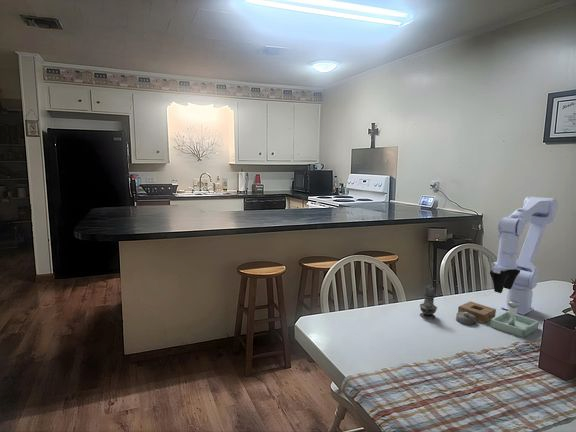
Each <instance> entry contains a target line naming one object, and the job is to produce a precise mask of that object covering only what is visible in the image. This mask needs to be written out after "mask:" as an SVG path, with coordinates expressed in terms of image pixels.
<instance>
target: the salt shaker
mask: <svg viewBox="0 0 576 432" xmlns="http://www.w3.org/2000/svg"><path fill="white" fill-rule="evenodd" d="M423 296H424V300H423V303H420V304H419V307H420V311H421V313H420V314H419V317H421V318H423V319H427V320H435V319H436V318H437V317H436V315H435V314H436V311H437V309H438V306H437V305H435V304H434V299H435V287H434V286H432V284H431V283H429V285H426V286H425V292H424V294H423Z"/></svg>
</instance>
